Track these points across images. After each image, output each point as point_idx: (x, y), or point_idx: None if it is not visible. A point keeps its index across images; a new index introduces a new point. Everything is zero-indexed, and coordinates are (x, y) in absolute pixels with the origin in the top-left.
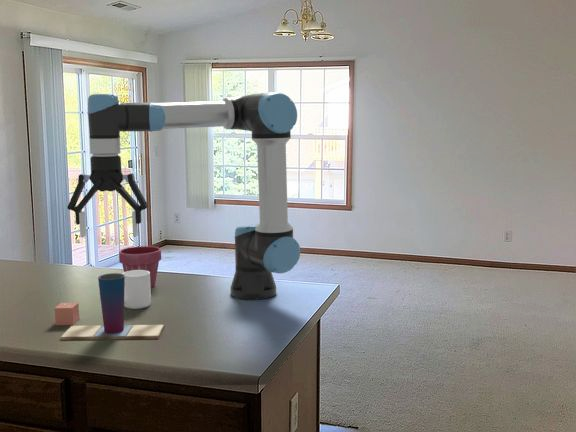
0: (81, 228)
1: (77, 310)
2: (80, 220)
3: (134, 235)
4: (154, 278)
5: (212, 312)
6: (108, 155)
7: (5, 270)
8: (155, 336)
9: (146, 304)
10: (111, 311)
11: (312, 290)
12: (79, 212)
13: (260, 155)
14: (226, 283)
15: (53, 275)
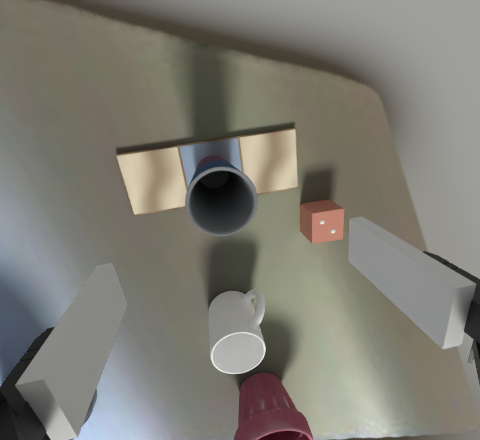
0: (382, 234)
1: (307, 232)
2: (420, 255)
3: (102, 268)
4: (239, 400)
5: None
6: None
7: (471, 399)
8: (121, 153)
9: (211, 304)
10: (209, 159)
11: None
12: (473, 292)
13: None
14: (126, 425)
15: (403, 397)
